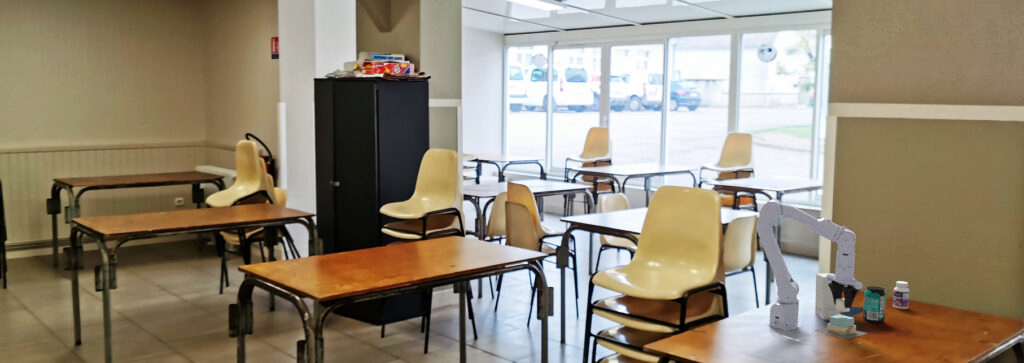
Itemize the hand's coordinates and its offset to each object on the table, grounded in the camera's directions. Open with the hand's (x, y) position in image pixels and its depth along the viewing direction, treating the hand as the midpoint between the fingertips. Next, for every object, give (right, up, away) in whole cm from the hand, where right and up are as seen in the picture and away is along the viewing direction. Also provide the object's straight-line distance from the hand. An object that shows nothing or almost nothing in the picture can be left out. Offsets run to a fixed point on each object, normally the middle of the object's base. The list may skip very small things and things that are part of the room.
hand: (842, 305), depth 276 cm
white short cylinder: (0, -1, 0) cm, 1 cm away
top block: (0, -6, +1) cm, 6 cm away
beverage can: (+18, -8, +17) cm, 26 cm away
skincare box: (+3, -8, +21) cm, 23 cm away
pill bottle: (+37, -7, +38) cm, 54 cm away
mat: (0, -9, +1) cm, 9 cm away
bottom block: (0, -9, +1) cm, 9 cm away
